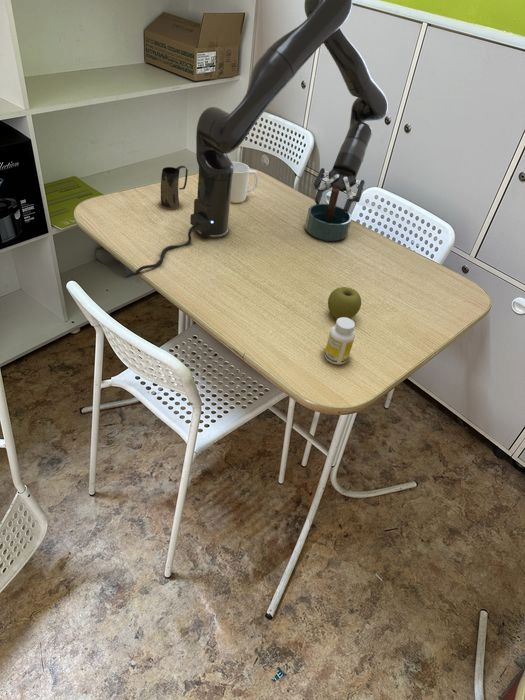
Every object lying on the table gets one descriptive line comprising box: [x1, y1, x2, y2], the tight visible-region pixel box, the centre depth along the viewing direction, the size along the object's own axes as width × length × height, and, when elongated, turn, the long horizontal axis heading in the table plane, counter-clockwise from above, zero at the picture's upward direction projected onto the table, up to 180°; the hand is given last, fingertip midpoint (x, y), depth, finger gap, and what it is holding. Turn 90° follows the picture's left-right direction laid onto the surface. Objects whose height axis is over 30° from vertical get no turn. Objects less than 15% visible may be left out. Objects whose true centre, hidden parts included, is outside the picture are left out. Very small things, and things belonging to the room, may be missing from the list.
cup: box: [230, 161, 259, 204], centre depth 167 cm, size 8×12×10 cm
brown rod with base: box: [325, 188, 340, 223], centre depth 156 cm, size 4×4×13 cm
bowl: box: [304, 203, 352, 242], centre depth 158 cm, size 13×13×6 cm
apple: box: [327, 286, 362, 320], centre depth 126 cm, size 8×8×7 cm
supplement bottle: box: [324, 317, 356, 365], centre depth 113 cm, size 5×5×10 cm
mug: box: [160, 165, 189, 211], centre depth 156 cm, size 8×6×12 cm
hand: (330, 207), depth 154 cm, fingers open, 8 cm apart
